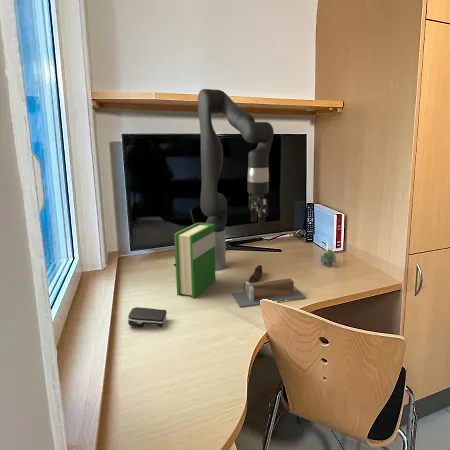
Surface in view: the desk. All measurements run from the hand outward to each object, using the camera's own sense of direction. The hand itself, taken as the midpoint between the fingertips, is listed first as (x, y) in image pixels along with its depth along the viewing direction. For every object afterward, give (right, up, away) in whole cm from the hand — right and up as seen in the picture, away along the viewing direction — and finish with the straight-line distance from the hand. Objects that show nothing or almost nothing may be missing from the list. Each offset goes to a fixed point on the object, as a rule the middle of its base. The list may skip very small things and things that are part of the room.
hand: (257, 223), depth 134 cm
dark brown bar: (0, -24, +14) cm, 28 cm away
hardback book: (-23, -25, +9) cm, 35 cm away
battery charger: (-31, -31, -18) cm, 47 cm away
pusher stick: (+5, -26, +1) cm, 27 cm away
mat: (+4, -27, +1) cm, 27 cm away
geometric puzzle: (+34, -19, +30) cm, 49 cm away
